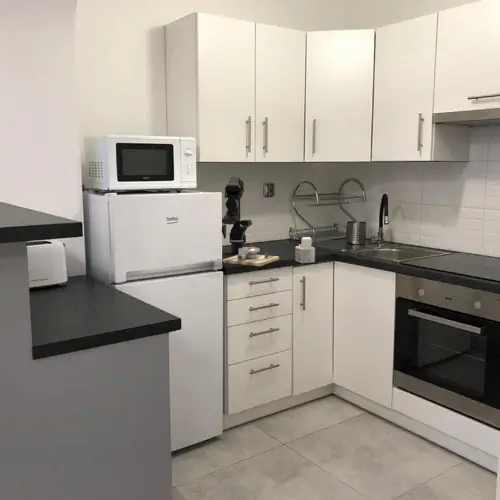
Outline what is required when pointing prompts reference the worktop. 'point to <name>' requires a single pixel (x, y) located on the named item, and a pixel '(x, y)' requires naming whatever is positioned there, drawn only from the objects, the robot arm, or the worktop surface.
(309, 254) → the container
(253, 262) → the base plate
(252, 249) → the grey piece
